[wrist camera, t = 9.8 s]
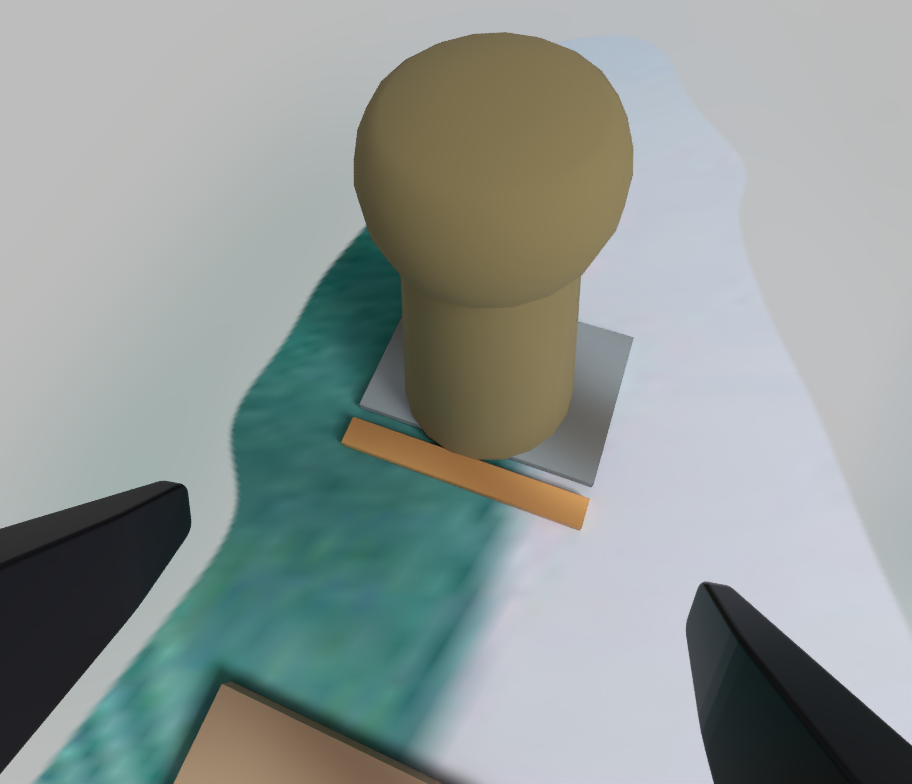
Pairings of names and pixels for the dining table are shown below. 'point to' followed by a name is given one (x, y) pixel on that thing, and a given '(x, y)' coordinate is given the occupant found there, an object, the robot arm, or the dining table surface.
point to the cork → (492, 226)
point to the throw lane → (563, 454)
